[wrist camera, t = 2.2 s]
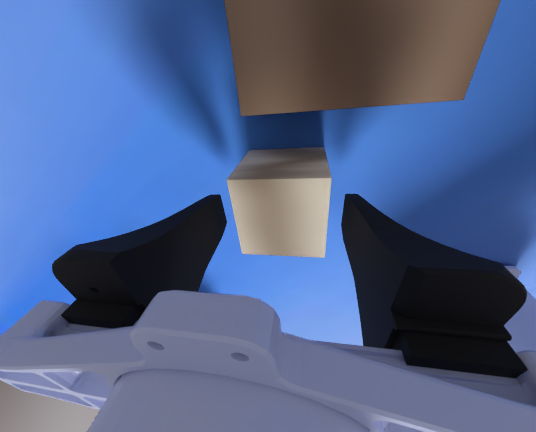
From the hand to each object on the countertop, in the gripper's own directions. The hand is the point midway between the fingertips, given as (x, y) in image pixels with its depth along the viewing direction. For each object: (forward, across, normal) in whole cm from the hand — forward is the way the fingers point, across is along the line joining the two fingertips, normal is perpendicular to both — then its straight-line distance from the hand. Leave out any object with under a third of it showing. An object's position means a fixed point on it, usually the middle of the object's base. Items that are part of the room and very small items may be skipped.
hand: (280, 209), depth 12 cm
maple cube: (+4, 0, 0) cm, 4 cm away
